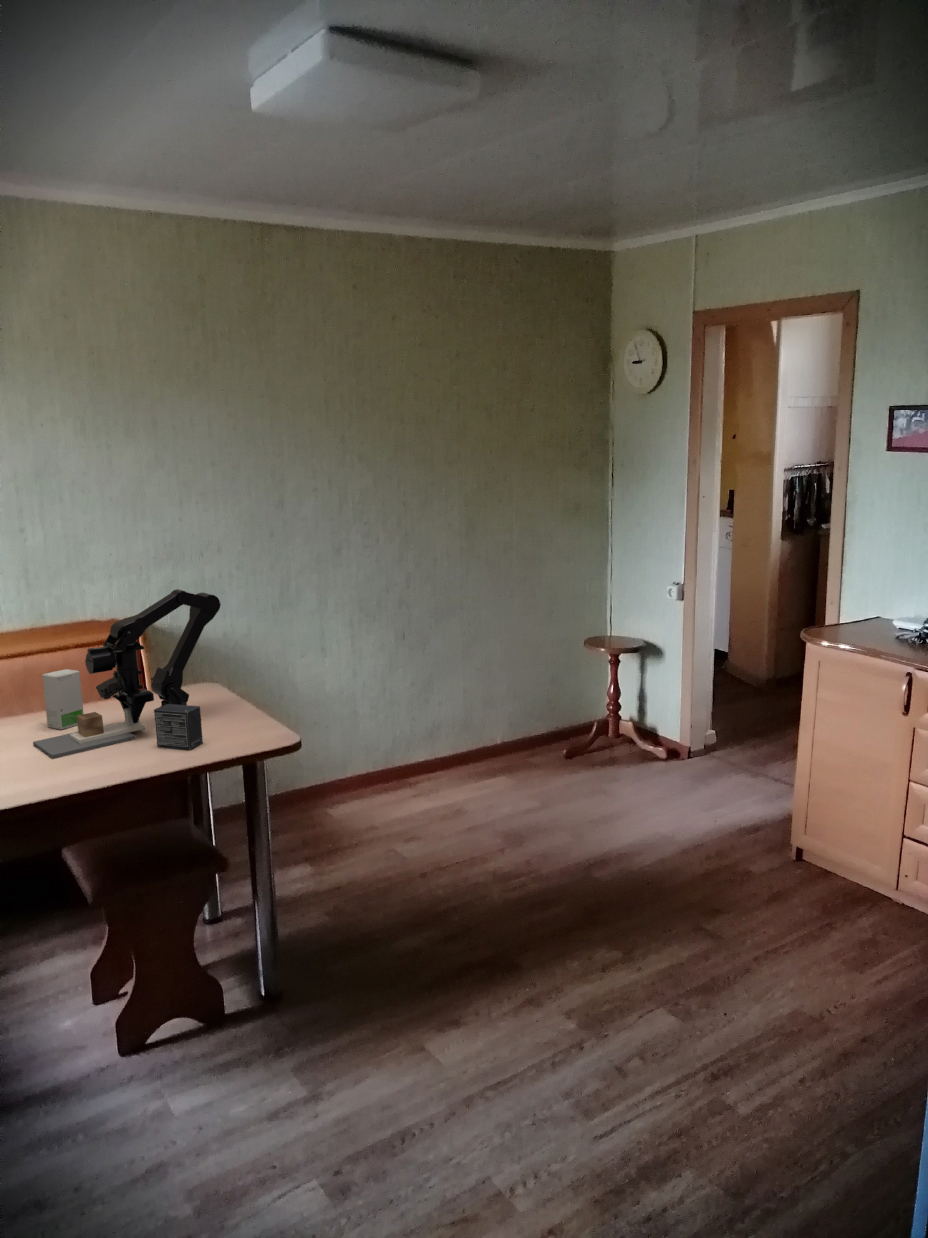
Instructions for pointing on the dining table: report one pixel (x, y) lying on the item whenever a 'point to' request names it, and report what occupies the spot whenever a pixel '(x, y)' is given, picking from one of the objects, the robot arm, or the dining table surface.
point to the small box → (178, 726)
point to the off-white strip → (112, 729)
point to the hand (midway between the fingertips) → (132, 721)
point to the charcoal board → (76, 744)
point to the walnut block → (90, 724)
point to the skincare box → (62, 698)
